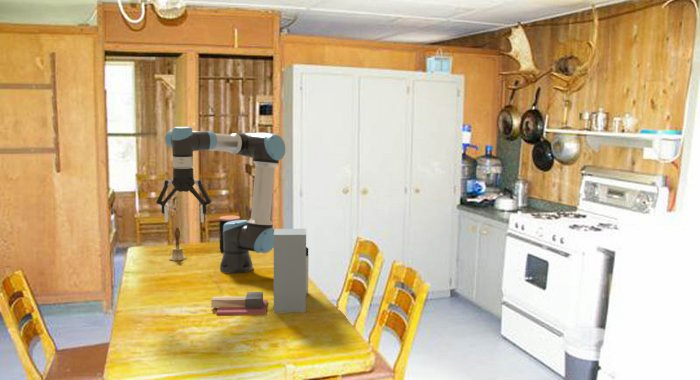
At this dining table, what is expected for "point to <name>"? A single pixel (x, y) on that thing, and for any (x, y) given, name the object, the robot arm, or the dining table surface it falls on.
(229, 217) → the coffee jar
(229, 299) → the stamp
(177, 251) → the hand bell
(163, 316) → the dining table surface
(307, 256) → the travel mug
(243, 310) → the mat
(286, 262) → the pedestal
